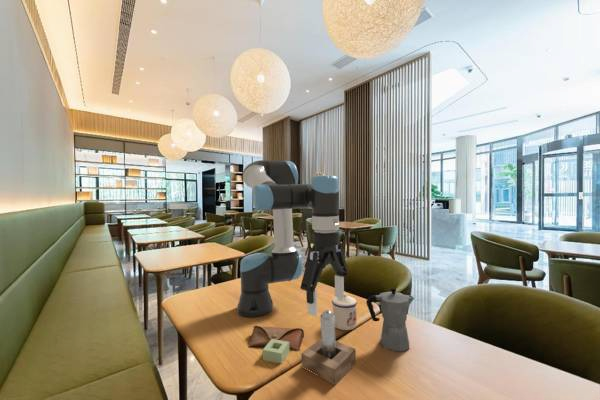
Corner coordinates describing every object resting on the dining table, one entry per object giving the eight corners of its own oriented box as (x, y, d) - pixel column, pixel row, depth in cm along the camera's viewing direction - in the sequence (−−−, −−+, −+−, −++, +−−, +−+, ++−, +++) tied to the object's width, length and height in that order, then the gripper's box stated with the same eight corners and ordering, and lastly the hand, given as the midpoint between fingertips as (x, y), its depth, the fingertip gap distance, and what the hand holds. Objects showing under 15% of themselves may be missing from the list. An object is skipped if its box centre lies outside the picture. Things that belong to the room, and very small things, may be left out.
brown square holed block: (301, 367, 71) (301, 353, 71) (324, 348, 79) (323, 336, 79) (335, 385, 64) (334, 369, 64) (355, 362, 72) (355, 348, 72)
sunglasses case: (245, 347, 81) (248, 324, 84) (251, 347, 87) (254, 326, 90) (301, 351, 79) (302, 327, 82) (303, 350, 85) (304, 328, 88)
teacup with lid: (351, 333, 88) (350, 300, 88) (328, 326, 93) (327, 295, 93) (364, 319, 98) (363, 289, 97) (342, 313, 103) (341, 285, 103)
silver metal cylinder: (319, 366, 71) (317, 311, 71) (327, 359, 74) (325, 306, 74) (330, 372, 69) (329, 315, 69) (338, 364, 72) (337, 309, 72)
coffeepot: (408, 334, 86) (407, 282, 86) (422, 351, 77) (421, 292, 76) (363, 336, 86) (362, 283, 86) (371, 353, 77) (370, 294, 76)
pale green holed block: (263, 359, 75) (262, 349, 75) (271, 348, 81) (271, 338, 80) (281, 363, 73) (281, 353, 73) (289, 351, 79) (289, 341, 79)
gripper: (309, 238, 59) (310, 328, 60) (358, 226, 78) (359, 294, 79) (285, 235, 64) (287, 318, 65) (337, 224, 83) (338, 288, 84)
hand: (326, 305), depth 72 cm, fingers open, 13 cm apart
